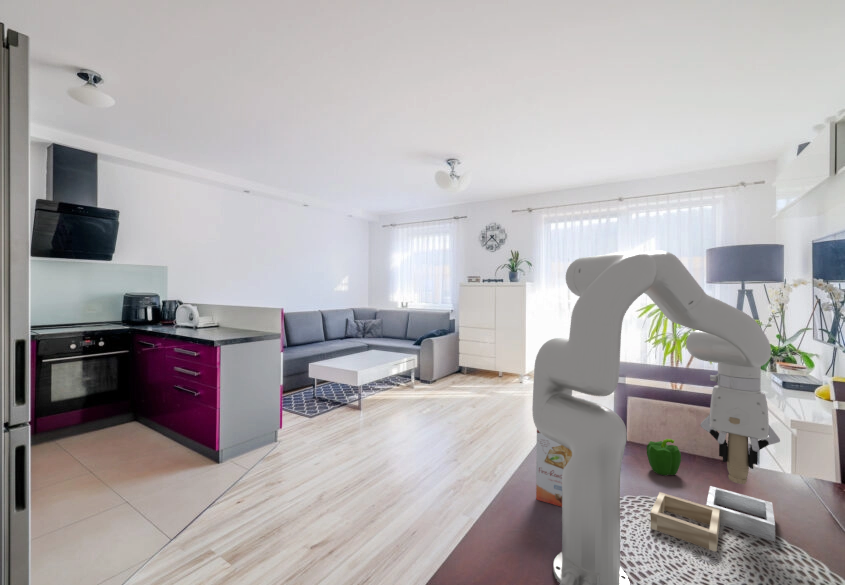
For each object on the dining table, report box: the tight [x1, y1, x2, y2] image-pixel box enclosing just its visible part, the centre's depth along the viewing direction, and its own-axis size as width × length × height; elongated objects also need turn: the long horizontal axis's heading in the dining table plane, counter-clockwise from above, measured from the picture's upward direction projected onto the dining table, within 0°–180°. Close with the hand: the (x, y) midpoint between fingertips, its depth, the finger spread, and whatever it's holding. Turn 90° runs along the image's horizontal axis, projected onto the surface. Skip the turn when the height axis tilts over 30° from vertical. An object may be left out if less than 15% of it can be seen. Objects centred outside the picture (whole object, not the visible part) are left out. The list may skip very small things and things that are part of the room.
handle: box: [726, 417, 750, 485], centre depth 85 cm, size 5×6×15 cm
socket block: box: [705, 485, 776, 543], centre depth 85 cm, size 11×11×4 cm
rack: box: [650, 491, 721, 553], centre depth 82 cm, size 11×11×4 cm
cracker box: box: [535, 429, 572, 508], centre depth 91 cm, size 14×6×21 cm, turn 60°
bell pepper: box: [646, 438, 682, 476], centre depth 108 cm, size 8×8×10 cm
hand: (737, 462), depth 85 cm, fingers closed on handle, 4 cm apart
